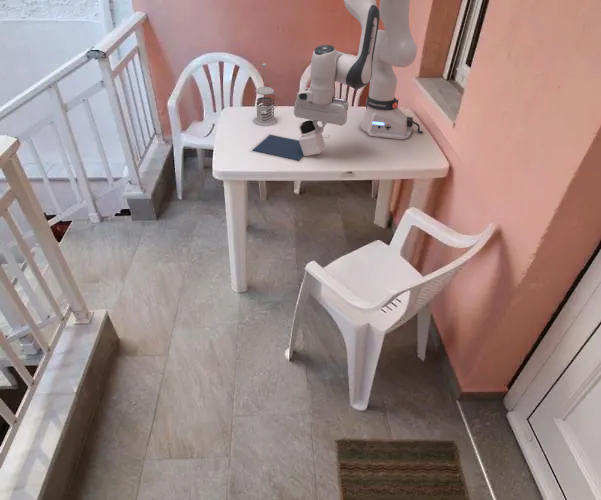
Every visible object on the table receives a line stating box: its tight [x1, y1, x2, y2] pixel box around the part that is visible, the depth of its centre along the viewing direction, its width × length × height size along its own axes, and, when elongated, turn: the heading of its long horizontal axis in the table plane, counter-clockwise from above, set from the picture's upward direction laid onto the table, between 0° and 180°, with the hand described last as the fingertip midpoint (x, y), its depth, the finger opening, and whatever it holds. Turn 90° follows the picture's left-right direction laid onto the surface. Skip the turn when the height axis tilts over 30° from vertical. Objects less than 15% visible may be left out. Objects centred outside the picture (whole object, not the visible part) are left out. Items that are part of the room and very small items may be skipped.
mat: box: [252, 134, 305, 162], centre depth 169 cm, size 20×16×1 cm
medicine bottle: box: [298, 119, 326, 157], centre depth 161 cm, size 7×7×12 cm
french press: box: [254, 62, 279, 126], centre depth 182 cm, size 10×12×25 cm
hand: (319, 131), depth 158 cm, fingers closed
